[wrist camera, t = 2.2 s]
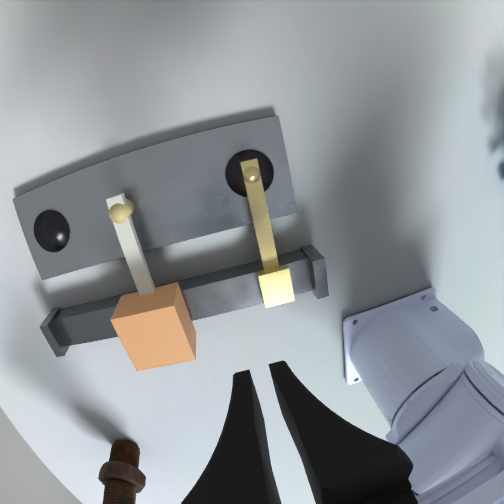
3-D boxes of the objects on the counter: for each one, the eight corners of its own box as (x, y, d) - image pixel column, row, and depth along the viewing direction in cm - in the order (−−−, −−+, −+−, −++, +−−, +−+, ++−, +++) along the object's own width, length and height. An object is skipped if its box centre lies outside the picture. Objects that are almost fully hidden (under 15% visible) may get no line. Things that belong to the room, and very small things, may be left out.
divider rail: (295, 148, 20) (307, 150, 17) (316, 279, 23) (328, 295, 21) (18, 229, 18) (0, 240, 16) (67, 337, 22) (56, 356, 20)
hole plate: (276, 116, 19) (278, 115, 18) (294, 210, 21) (297, 213, 20) (16, 197, 18) (11, 199, 17) (45, 276, 20) (41, 281, 19)
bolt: (93, 435, 26) (71, 552, 13) (127, 427, 26) (111, 557, 12) (125, 461, 29) (116, 569, 15) (159, 454, 29) (157, 572, 15)
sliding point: (150, 183, 18) (137, 194, 14) (195, 325, 22) (195, 359, 18) (92, 201, 18) (69, 217, 14) (144, 337, 22) (136, 370, 18)
